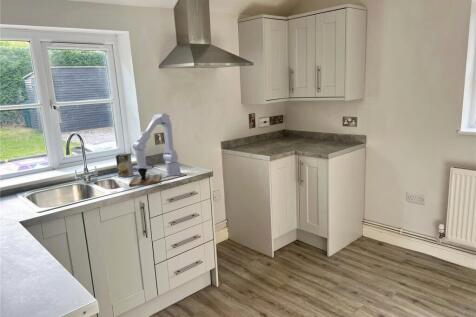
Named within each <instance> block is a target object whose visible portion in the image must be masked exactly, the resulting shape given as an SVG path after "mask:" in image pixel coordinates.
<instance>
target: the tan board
mask: <svg viewBox="0 0 476 317" xmlns="http://www.w3.org/2000/svg"><path fill="white" fill-rule="evenodd" d="M148 176H150V178H149V179H147V180H143V181H142V182H138V180H137V179H138V178H140V177H141V175H138V176H133V177H132V179H131V180H130V181H129V183H128V187H129V186H130V187H137V186H136V185H139V186H145V185H146V186H147V185H155V184H159V183H160V181H161V177H162V174H161V173H159V174H158V173H157V174H148Z"/></svg>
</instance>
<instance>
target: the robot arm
mask: <svg viewBox="0 0 476 317" xmlns="http://www.w3.org/2000/svg"><path fill="white" fill-rule="evenodd" d="M158 125H160V126H162V127H163V136H164V147H165V149H164V150H163V154H162V155H163V156H162V160H163V161H164V163H165V166H166V168H165V169H166V177H173V176H179V175H180V176H181V172H182V171H181V167H180V166H181V165H180V161H178V159H179V157H178V153H177V150H176V149H174V140H173V138H174V137H173V127H172V125H173V124H172V122H171V118H170V115H168V114H167V113H166V112H164V113H154V115H153V116H152V117H151V121H150V122H149V124H148V126H147V127H146V129H145V131H142V132H141V133H140V136H139V137H138V138H137V139H136V141H134V142H133V144H132V148H133V150H134V153H135V158H136V160H135V161H136V165H132V168H133V170H137V172H138V173H139V176H141V177H142V180H145V179H146V177H145V175H146V174H147V172H148V170H153V166H152V165H148V164H147V158H146V153H145V149H146V147H147V143H148V142H149V140H150V138H151V134H152V132H153V131H154V129H155V128H156V127H157V126H158Z"/></svg>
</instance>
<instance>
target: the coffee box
mask: <svg viewBox="0 0 476 317" xmlns="http://www.w3.org/2000/svg"><path fill="white" fill-rule="evenodd" d="M115 160H116V161H115V162H116V166H117V174H118V178H129V177H128V176H131V177H132V176H133V175H134V169H133V163H132V155H131V153H118V154H117V155H115Z"/></svg>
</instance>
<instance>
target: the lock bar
mask: <svg viewBox="0 0 476 317" xmlns="http://www.w3.org/2000/svg"><path fill="white" fill-rule="evenodd" d="M148 175H149V174H148V173H146V175H145V177H146V179H147V178H148ZM137 180H138V182H142V181H143V180H142V177H140V178H138V179H137Z"/></svg>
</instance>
